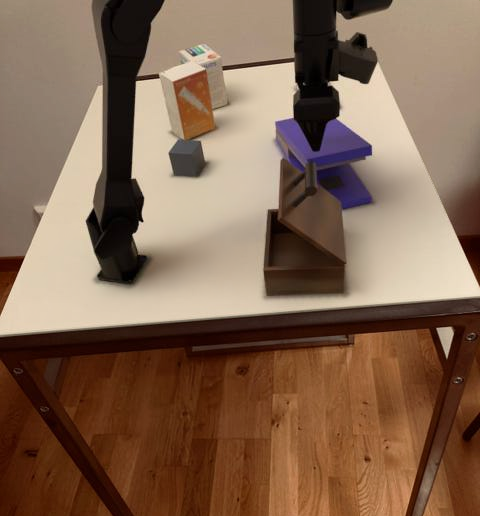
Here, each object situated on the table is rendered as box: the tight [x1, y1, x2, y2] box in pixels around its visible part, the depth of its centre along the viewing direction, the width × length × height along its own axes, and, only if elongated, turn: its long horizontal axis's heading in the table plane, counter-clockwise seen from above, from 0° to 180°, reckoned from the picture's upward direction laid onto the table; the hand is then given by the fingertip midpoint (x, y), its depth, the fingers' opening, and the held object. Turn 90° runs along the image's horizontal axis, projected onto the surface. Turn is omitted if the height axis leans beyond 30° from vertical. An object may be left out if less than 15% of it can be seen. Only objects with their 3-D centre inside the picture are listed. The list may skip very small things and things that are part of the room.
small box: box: [158, 61, 216, 140], centre depth 108 cm, size 8×6×13 cm
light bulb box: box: [178, 43, 228, 110], centre depth 118 cm, size 11×7×11 cm, turn 25°
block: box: [167, 138, 206, 178], centre depth 101 cm, size 5×5×5 cm
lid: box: [277, 156, 348, 266], centre depth 71 cm, size 12×14×5 cm
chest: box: [262, 208, 346, 296], centre depth 78 cm, size 11×14×5 cm
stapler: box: [274, 117, 373, 210], centre depth 93 cm, size 12×28×10 cm, turn 12°
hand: (315, 135), depth 80 cm, fingers open, 9 cm apart
